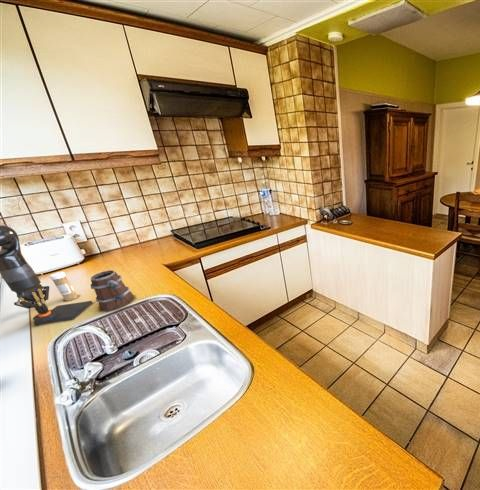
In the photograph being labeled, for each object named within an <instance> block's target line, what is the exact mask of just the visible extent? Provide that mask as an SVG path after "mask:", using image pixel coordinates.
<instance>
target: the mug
mask: <svg viewBox="0 0 480 490" xmlns="http://www.w3.org/2000/svg"><path fill="white" fill-rule="evenodd" d="M122 280H123V278H122V275H121V274H118V273H117V271H115V270H105V271H104V270H103V271H101V272H98V273H95V274H94V275H92V276H91V277H90V282H91V283H90V289H92V290H94V293H95V295H96V297H95V302H96V303H98V308H99V310H100V311H103V312H110V311H113V310H117V309H120V308H122V307H125V306H126V305H129V304H130V303H132V301H133V300H134V299H135V296H134V295H133V292H132V291H131V290H130V287H129V286H126V285H125V283H124V282H123V281H122Z"/></svg>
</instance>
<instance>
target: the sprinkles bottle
mask: <svg viewBox="0 0 480 490" xmlns="http://www.w3.org/2000/svg"><path fill="white" fill-rule="evenodd" d="M49 278H50V280H52V282H53V283H54V285H55V287H56V289H57V291H58V292H59V294H60V295H61V296H62V298H63V299H64V301H66V302H68V301H73V300H75V299H76V298H78V296H79V295H78V294H77V293H76V290H75V289H74V287H73V286H72V284H71V283H70V281H69V279H68V277H67V275H66V273H65V271H58V272H54V273H52V274H50V275H49Z"/></svg>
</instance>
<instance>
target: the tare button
mask: <svg viewBox="0 0 480 490" xmlns="http://www.w3.org/2000/svg"><path fill="white" fill-rule="evenodd" d="M48 310H49V311H48V312H47V313H45V314H39V313H37V315H38V317H39V318H40V317H45V316H47V315H49V314H51V313H52V312H51V311H50V310H51V309H48Z"/></svg>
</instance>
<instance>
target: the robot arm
mask: <svg viewBox="0 0 480 490" xmlns="http://www.w3.org/2000/svg"><path fill="white" fill-rule="evenodd" d="M21 249H22V248H21V245H20V239H19V235H18V233H17V232H16V230H14V229H13V228H12V227H10V226H8V225H0V276H1V278H2V279H3V281H4V282H5V283H6V285H7V286H8V288H9V289H10V291H11V292H13V293H16V298H17V301H14V303H13V305H14V306H16V307H20V308H24V309H26V310H27V309H28V310H29V309H35V311H36V312H37V314H45V313H47V312H48V311H49V310H50V309H49V307H48V305H47V304H46V301H48V300H49V296H50V286H49V285H45V286H44V285H42V284H41V279H39V276H38V275H37V274H36V272H35V271H34V268H32V267H31V265H30V264H29V263H28V262H27V260H26V258H25V257H24V255H23V253H22V250H21Z"/></svg>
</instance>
